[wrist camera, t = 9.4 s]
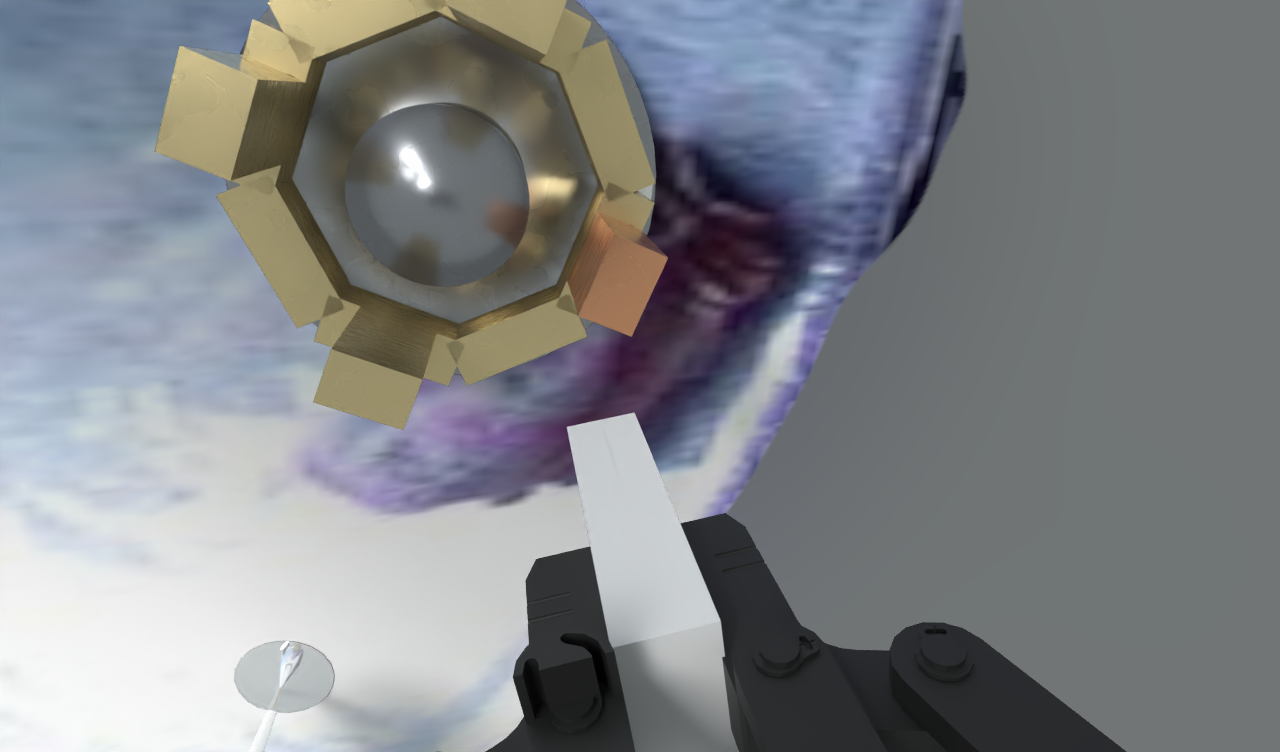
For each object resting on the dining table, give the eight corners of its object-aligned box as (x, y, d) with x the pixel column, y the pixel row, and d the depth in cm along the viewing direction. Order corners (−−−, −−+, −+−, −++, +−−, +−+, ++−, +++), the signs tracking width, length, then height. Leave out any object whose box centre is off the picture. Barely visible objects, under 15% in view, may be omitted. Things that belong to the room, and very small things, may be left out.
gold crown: (203, 281, 28) (109, 339, 21) (311, -117, 24) (236, -196, 17) (553, 401, 33) (564, 480, 26) (693, 84, 28) (750, 81, 22)
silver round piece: (164, -21, 26) (51, -58, 19) (617, -81, 28) (651, -134, 21) (315, 395, 32) (267, 469, 26) (672, 325, 34) (709, 379, 28)
